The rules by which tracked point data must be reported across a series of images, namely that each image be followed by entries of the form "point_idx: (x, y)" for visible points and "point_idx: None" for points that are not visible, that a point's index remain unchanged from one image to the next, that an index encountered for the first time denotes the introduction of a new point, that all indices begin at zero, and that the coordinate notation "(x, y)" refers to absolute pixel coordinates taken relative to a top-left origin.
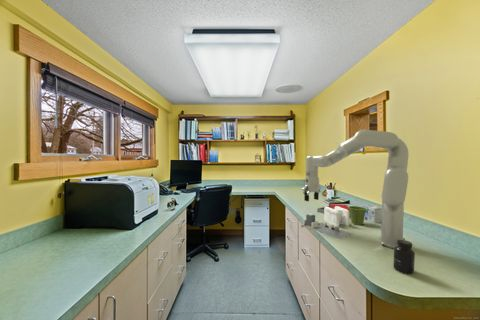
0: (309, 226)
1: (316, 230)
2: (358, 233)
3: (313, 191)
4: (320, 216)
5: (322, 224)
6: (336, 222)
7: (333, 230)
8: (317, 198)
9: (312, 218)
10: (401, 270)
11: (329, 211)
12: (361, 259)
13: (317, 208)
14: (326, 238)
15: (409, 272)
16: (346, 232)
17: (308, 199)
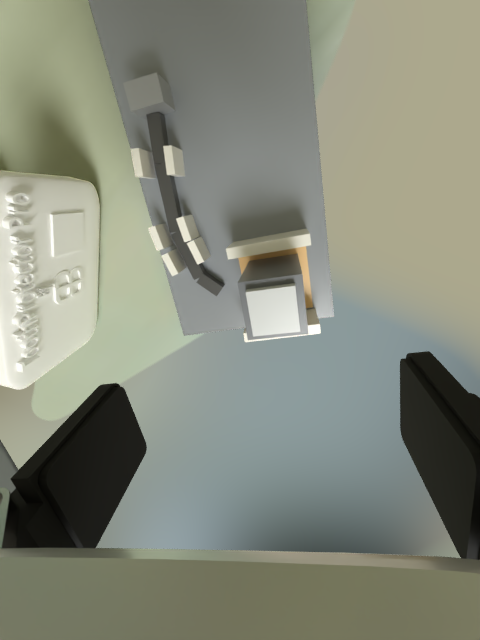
0: (301, 266)
1: (318, 170)
2: (3, 21)
3: (335, 578)
4: (57, 416)
5: (194, 235)
6: (75, 186)
7: (180, 118)
8: (110, 402)
9: (281, 270)
10: None
11: (31, 300)
12: None
13: None
14: (352, 8)
15: None
16: (107, 27)
17: (446, 372)
